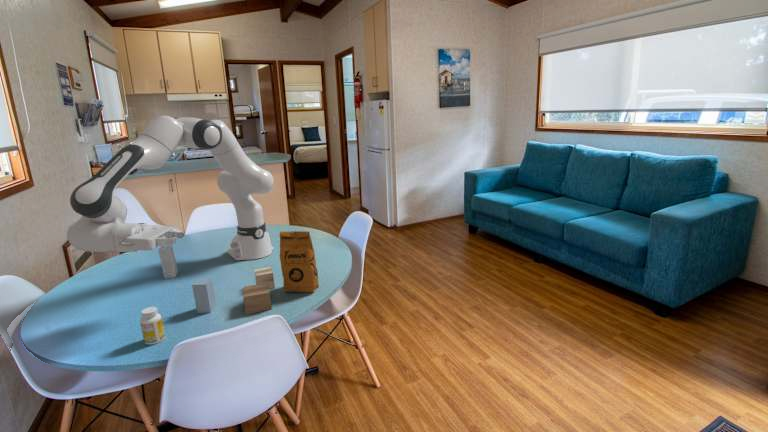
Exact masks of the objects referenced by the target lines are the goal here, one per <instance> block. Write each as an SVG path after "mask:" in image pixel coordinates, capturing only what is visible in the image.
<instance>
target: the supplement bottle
mask: <svg viewBox="0 0 768 432" xmlns="http://www.w3.org/2000/svg"><path fill="white" fill-rule="evenodd" d="M140 313H141V314H140V315H141V318H140V320H139V323H140V328H141V332H142V337H143V341H144V344H146V345H151V346H152V345H156V344H159V343H161V342H162V341H163V340H165V339H166V332H165V328H164V324H163V319H162V318H163V317H162V315H161V314H160V313H158V307H156V306H149V307H145V308H144V309H142V310H141V311H140Z"/></svg>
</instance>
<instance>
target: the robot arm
mask: <svg viewBox="0 0 768 432" xmlns="http://www.w3.org/2000/svg"><path fill="white" fill-rule="evenodd" d="M179 146H180V147H185V148H187V149H198V150H205V151H207V150H209V152H210V153H211V155H212V157H214V160H215V161H216V163H217V164H218V166H219V167H220V168H221V169H222V170H223V171H220V173H219V174H218V176H217V180H216V181H217V184H216V185H217V186H218V188H219V190H220V191H221V192H223V193H224V195H226V196H227V198H229V200H230V201H231V203H232V205H233V207H234V211H235V213H236V215H235V216H236V221H237V225H236V226H235V227H236V235H235V236H234V237H233V238H232V239H231V242H230V244H229V245H230V248H228V249H227V250H226V253H227V254H228V255H229V256H231V257H232V258H233V259H234V260H235V261H243V260H244V261H245V260H246V261H249V260H252V261H253V260H260V259H262V258H265V257H268V256H269V255H271V254H272V251H273V250H274V249H275V247H274V246H272V244H271V239H270V234H269V232H268V231H267V226H266V225H267V224H266V222H265V220H264V219H265V218H264V212H263V211H264V210H263V207H262V205H261V204H260V203H259V202H258V201H256V200H255V199H254V197H253V196H252V195H254V196H259V195H260V196H261V195H264V194H269V193H270V192H271V191H272V190H273V187H274V183H275V181H274V177H273V175H272V173H271V172H270V171H269V170H266V169H264V168H262V167H260V166H259V165H258V164H256V163H255V162H254V161H253V160H252V159H251V158H250V157H248V155H247V154H246V153H245V151H244V149H243V148H242V147H241V144H240V143H239V141H238V140H237V138H236V136H235V135H234V133H233V132H232V131H231V129H230V127H228V126H227V124H226V123H225V122H224V121H222V120H220V119H211V120H209V119H202V118H198V117H184V116H176V117H172V116H169V115H160V116H158V117H156V118H155V119H154V120H152V121H151V122H150V123H149V124H148V125H147V126H146V127H145V128H144V129H143V130H142V131H141V133H139V135H138V136H137V138H136V139H135V140H134V141H132V142H131V143H130V144H128V145H126V146H124V147H122V148H121V149H120V150H119V151H117V153H116V154H114V156H112V157H111V158H110V159H109V160H108V161H107V162H106V163H105V164H104V165H103V166H102V167H101V168H100V169H99V170H98V171H97V172H96V173H95V174H94V175H93V176H92V177H90V178H88V179H87V180H86V181H84V182H83V183H81V184H79V185H78V186H77V187H75V189H74V190H73V191H72V192H71V195H70V199H69V203H70V207H71V209H72V210H73V211H74V212H75V213H77V214H79V215H81V217H80V218H79V219H78V220H77V221H76V222H74V223H73V224H71V225H70V226H69V227H68V229H67V231H66V235H67V236H66V237H67V240H68V242H69V244H70V246H72V247H73V248H74V249H75V250H77V251H81V252H82V251H83V252H93V253H94V252H95V253H98V252H99V253H100V252H101V253H104V252H110V251H113V252H118V253H137V252H138V251H144V252H145V251H153V250H154V249H156V248H157V247H161V246H166V245H172V246H173V245H175V244H176V242H177V241H176V239H183V238H185V232H184V231H176V230H173V227H172V226H169V225H168V226H166V225H158V224H157V225H155V224H153V225H152V224H147V223H146V222H141V223H140V222H137V223H134V222H130V223H129V222H125V221H126V218H127V214H128V208H127V206H126V204H125V203H124V202H123V201H122V200H121V199H120V198H119V197H117V196H116V195H115V190H116V189H117V187H118V186H119V185H120V184H121V183H122V182H123V181H124V179H126V178H127V177H128V176H129V174H131V172H133V171H134V170H136V169H142V170H143V169H144V170H149V171H150V170H158V169H160V168H162V167H163V166H164V165H165V164H166V163H167V162H168V161H169V159H170V158H171V157H172V155H174V152H175V151H176V150H177V148H178V147H179Z"/></svg>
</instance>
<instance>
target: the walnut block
mask: <svg viewBox="0 0 768 432" xmlns="http://www.w3.org/2000/svg"><path fill="white" fill-rule="evenodd" d="M270 292H271V291H270V289H269V283H264V284H258V285H256V284H253V285H247V286H243V294H242V295H243V303H244V311H245V314H246V315H248V314H253V313H258V312H264V311H270V310H272V309H273V308H272V301H271V300H272V299H271V293H270Z"/></svg>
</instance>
